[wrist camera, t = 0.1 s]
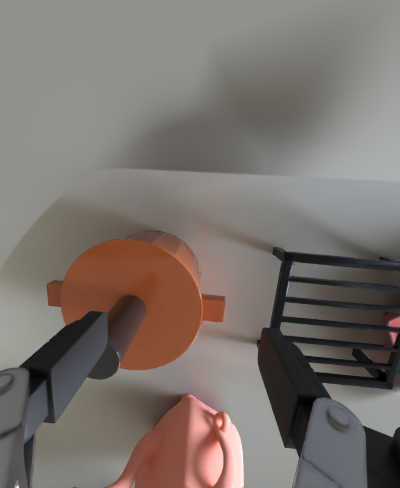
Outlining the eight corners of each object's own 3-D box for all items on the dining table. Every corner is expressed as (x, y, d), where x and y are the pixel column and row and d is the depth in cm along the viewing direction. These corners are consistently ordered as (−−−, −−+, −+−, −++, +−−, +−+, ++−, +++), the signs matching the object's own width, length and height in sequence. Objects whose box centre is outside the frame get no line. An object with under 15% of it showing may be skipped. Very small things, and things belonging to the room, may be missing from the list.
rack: (270, 242, 26) (285, 252, 21) (392, 254, 26) (436, 266, 21) (252, 347, 29) (262, 377, 24) (360, 358, 29) (392, 389, 24)
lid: (64, 231, 18) (-24, 248, 11) (209, 244, 18) (211, 270, 11) (71, 355, 21) (4, 431, 14) (196, 367, 21) (192, 450, 14)
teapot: (242, 455, 33) (263, 604, 21) (146, 457, 34) (113, 602, 22) (240, 382, 30) (264, 506, 18) (135, 386, 31) (88, 507, 19)
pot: (90, 224, 26) (36, 235, 18) (224, 237, 26) (233, 253, 17) (92, 309, 28) (46, 353, 20) (214, 321, 28) (218, 370, 20)
